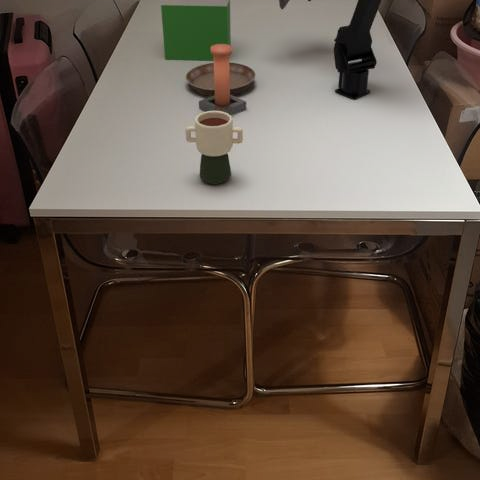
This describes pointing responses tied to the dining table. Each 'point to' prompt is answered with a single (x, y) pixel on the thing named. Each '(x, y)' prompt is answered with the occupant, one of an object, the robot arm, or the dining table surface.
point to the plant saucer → (204, 78)
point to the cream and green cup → (214, 144)
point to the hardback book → (194, 28)
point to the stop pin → (221, 73)
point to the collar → (231, 109)
